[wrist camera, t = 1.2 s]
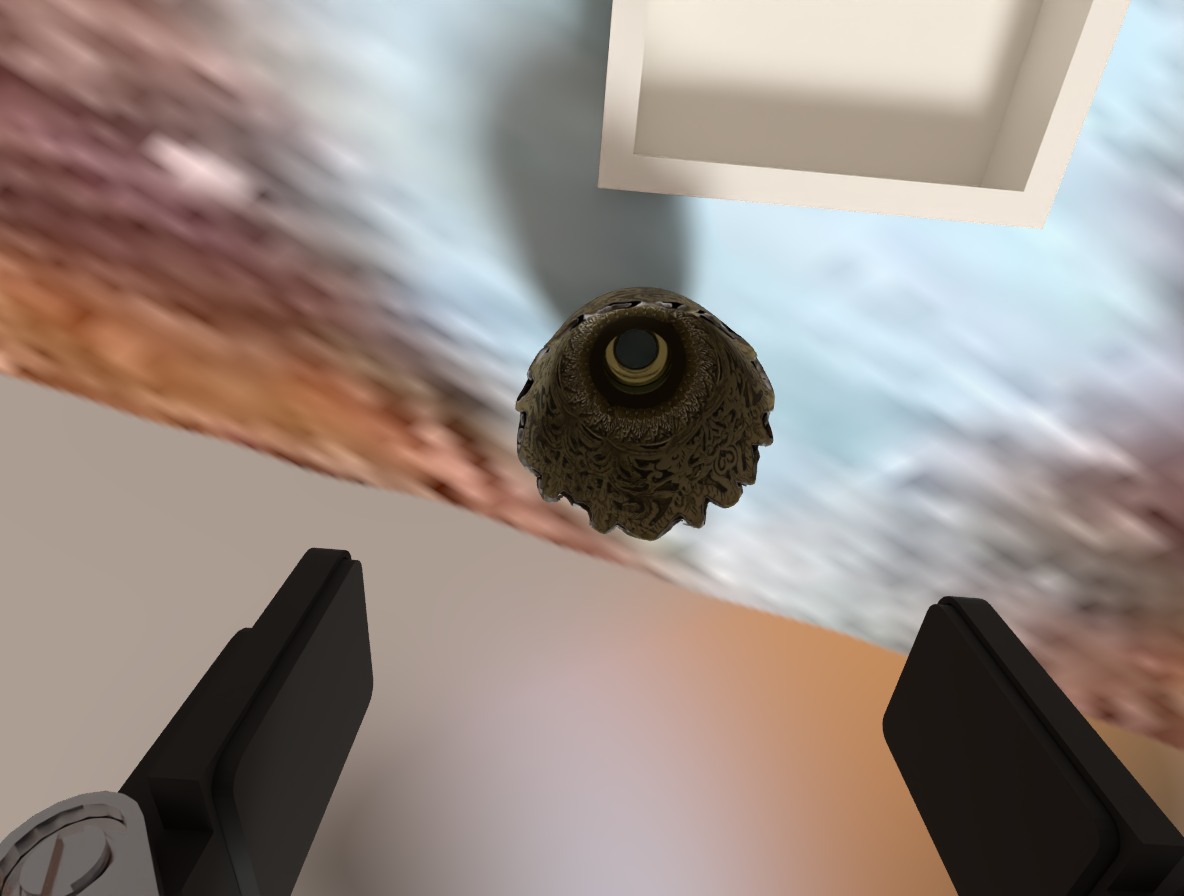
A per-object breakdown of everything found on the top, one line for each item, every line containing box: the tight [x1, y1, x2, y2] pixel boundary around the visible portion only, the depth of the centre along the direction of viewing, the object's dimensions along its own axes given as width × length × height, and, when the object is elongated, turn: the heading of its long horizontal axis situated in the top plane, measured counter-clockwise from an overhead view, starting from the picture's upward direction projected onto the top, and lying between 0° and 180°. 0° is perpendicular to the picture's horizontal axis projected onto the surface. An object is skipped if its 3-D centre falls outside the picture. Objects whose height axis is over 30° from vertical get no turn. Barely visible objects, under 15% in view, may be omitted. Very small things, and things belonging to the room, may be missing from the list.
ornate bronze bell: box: [516, 287, 775, 541], centre depth 21 cm, size 8×7×8 cm
